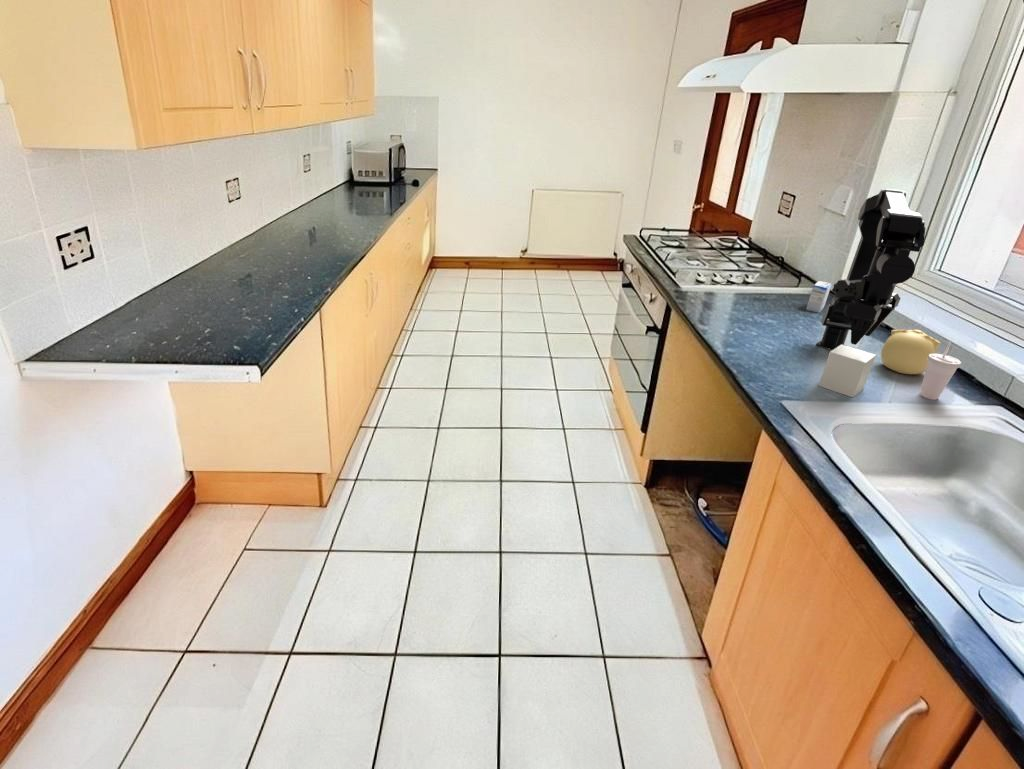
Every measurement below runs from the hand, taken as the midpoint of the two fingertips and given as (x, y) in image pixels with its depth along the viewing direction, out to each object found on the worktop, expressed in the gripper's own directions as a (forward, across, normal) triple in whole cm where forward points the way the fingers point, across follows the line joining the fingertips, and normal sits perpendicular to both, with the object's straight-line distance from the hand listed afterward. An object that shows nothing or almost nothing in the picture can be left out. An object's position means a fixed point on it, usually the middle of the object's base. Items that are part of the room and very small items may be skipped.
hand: (860, 339), depth 131 cm
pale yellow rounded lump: (+12, -26, +6) cm, 30 cm away
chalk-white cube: (+12, 0, 0) cm, 12 cm away
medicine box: (+12, -61, -29) cm, 69 cm away
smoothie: (+12, -13, +15) cm, 24 cm away
